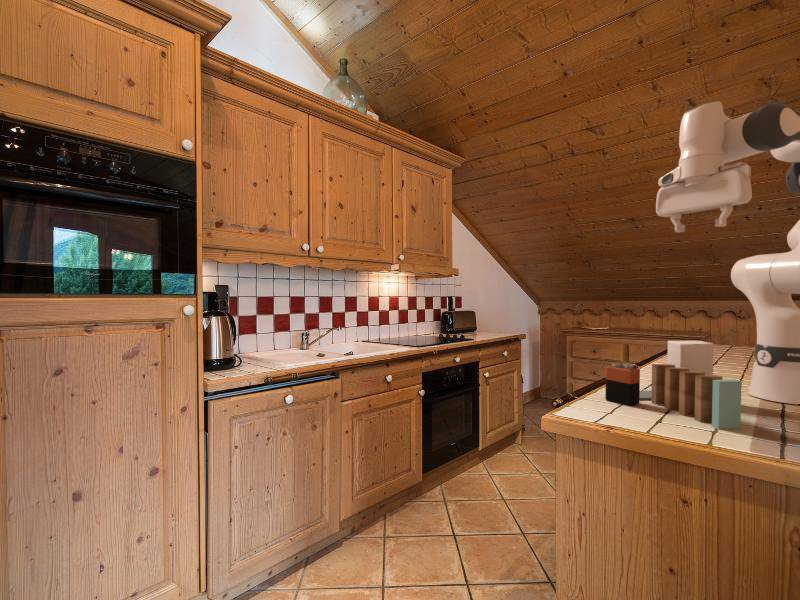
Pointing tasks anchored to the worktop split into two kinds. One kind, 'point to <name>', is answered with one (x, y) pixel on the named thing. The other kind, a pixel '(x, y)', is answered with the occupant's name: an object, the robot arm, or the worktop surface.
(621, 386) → the battery
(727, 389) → the domino end
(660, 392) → the domino
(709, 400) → the domino
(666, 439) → the worktop surface
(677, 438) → the worktop surface
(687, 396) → the domino
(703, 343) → the skincare box
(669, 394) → the domino
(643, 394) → the pad
